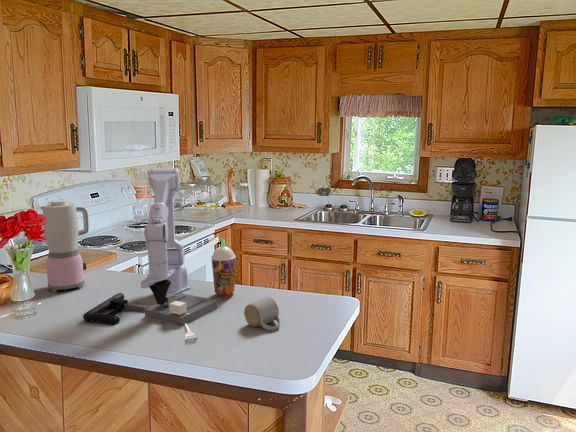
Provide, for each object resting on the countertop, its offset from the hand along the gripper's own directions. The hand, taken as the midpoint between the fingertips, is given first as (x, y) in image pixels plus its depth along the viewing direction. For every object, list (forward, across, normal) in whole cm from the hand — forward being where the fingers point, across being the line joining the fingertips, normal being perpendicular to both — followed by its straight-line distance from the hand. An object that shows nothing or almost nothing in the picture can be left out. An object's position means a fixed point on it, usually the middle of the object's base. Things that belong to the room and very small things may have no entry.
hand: (160, 303), depth 161 cm
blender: (+4, -9, -49) cm, 50 cm away
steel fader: (+1, -3, 0) cm, 3 cm away
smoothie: (+4, -24, +8) cm, 26 cm away
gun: (+4, +3, -14) cm, 15 cm away
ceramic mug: (+4, -7, +33) cm, 34 cm away
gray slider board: (+4, -5, +4) cm, 7 cm away
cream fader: (+1, +2, +8) cm, 8 cm away
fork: (+4, +5, +14) cm, 15 cm away
